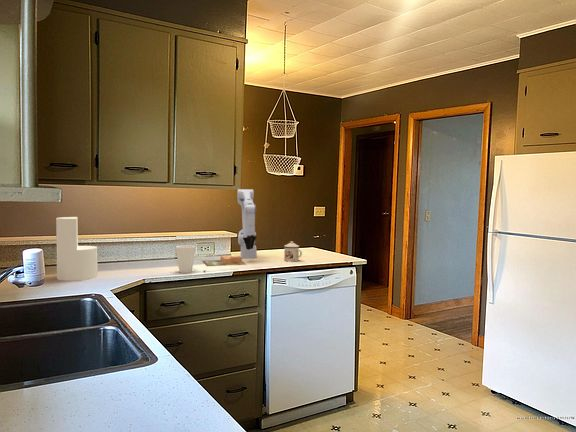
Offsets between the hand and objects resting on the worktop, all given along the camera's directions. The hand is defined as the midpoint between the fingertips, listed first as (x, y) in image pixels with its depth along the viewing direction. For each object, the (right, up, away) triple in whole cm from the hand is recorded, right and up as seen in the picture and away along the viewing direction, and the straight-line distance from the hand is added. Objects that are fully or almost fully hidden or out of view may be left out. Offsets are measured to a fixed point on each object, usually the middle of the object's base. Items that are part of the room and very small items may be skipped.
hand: (249, 249), depth 256 cm
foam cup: (-30, -10, -28) cm, 43 cm away
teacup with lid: (+25, -8, +13) cm, 30 cm away
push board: (-14, -9, -5) cm, 17 cm away
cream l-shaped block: (-77, -10, -46) cm, 90 cm away
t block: (-10, -7, -3) cm, 13 cm away
